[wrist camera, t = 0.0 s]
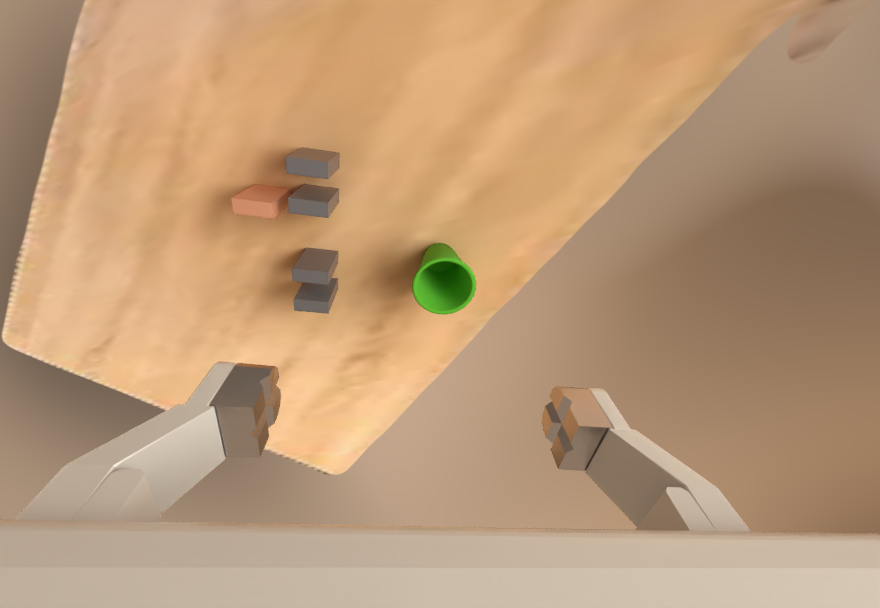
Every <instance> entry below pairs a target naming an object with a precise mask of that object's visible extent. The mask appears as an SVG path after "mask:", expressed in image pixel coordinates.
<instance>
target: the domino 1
mask: <svg viewBox="0 0 880 608" xmlns="http://www.w3.org/2000/svg"><path fill="white" fill-rule="evenodd" d="M289 196H291V190H290V189H287V188H279V187H272V186H264V185H257V184H254V185H253V186H251V187H249V188H247V189H246V190H244V191H242V192H241V193H239V194H237V195H235V196H234V197H232V198H231V201H232V209H233V214H241V215H249V216H257V217H266V218H275V217H276V216H277V215H278V214H279V213H280V212H281V211H282V210H283V209H285V208H286V207H287V206H288V197H289Z"/></svg>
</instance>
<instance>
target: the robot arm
mask: <svg viewBox="0 0 880 608" xmlns="http://www.w3.org/2000/svg"><path fill="white" fill-rule="evenodd" d="M278 379H279V373H278V368H277V367H276V366H266V365H255V364H244V363H230V362H218V363H216V364H214V365H213V367H212V368H211V369H210V371H209V372H208V374H207V375H206V376H205V378H204V379H203V380H202V382H201V383H200V384H199V386H198V387H197V388H196V390H195V391H194V393H193V394H192V395H191V397H190V398H189V399H188V401H187V402H186V403H185V405H179V404H178V405H176V406H175V407H173V408H171V409H169V410H167V411H165V412H163V413H162V414H160V415H158V416H156V417H154V418H152V419H150V420H148V421H147V422H145V423H143V424H141V425H139V426H137V427H135V428H133V429H132V430H130V431H128V432H126V433H124V434H122V435H120V436H119V437H117V438H115V439H113V440H111V441H109V442H107V443H106V444H104V445H102V446H100V447H98V448H96V449H94V450H92V451H91V452H89V453H87V454H85V455H83V456H81V457H79V458H77V459H76V460H74V461H72V462H70V463H68V464H66V465H65V466H64V467H63V468H62V469H61V470H60V471H59V472H58V474H57V475H56V476H55V477H54V478H53V479H52V480H51V481H50V482H49V483H48V484H47V485H46V486H45V487H44V488H43V490H42V491H41V492H40V493H39V494H38V495H37V496H36V497H35V498H34V499H33V500H32V501H31V502H30V503H29V504H28V506H27V507H26V508H25V509H24V510H23V511H22V512H21V513H20V514H19V515H18V516H17V517H16V518H15V519H14V520H2V519H0V608H880V534H867V533H863V534H862V533H795V532H794V533H792V532H751V531H750V530H749V528H748V527H747V526H746V524H745V523H744V522H743V520H742V519H741V518H740V517H739V515H738V514H737V513H736V511H735V510H734V509H733V508H732V506H731V505H730V504H729V502H728V501H727V500H726V498H725V497H724V496H723V494H722V493H721V492H720V491H719V489H718V488H717V487H716V486H714V485H713V484H711V483H710V482H708V481H707V480H706V479H704V478H703V477H701V476H700V475H699V474H697V473H696V472H694V471H693V470H691V469H690V468H689V467H687V466H686V465H684V464H683V463H682V462H680V461H679V460H677V459H676V458H674V457H673V456H672V455H670V454H669V453H667V452H666V451H665V450H663V449H662V448H660V447H659V446H657V445H656V444H655V443H653V442H652V441H650V440H649V439H648V438H646V437H645V436H643V435H642V434H641V433H639V432H638V431H636V430H631V429H630V428H629V426H628V425H627V423H626V422H625V420H624V419H623V417H622V415H621V414H620V413H619V411H618V409H617V408H616V406H615V405H614V403H613V402H612V400H611V399H610V397H609V396H608V394H607V392H606V391H604V390H603V389H596V388H575V387H560V386H555V387H554V388H553V389H552V391H551V393H550V398H551V400H552V402H550V403H549V404H548V405H546V406H545V408H544V411H543V414H542V426H543V431H544V434H545V436H546V438H548V439H549V440H550V441H551V442H552V443H553V445H552V448H551V451H552V454H553V457H554V460H555V462H556V465H557V467H558V469H565V470H580V471H586V474H587V475H588V476H589V477H590V478H591V479H592V480H593V481H594V482H595V483H596V484H597V485H598V486H599V487H600V488H601V489H602V490H603V492H604V493H605V494H607V496H608V497H609V498H610V499H611V500H612V501H613V502H614V503H615V504H616V505H617V506H618V507H619V509H620V510H622V512H623V513H624V514H625V515H626V516H627V517H628V518H629V519H630V520H631V521H632V522H633V523H634V524H635V525H636V526H637V528H636V530H614V529H612V530H611V529H551V528H550V529H549V528H482V527H423V526H367V525H308V524H246V523H186V522H185V523H184V522H163V520H162V518H161V515H160V514H162V513H163V512H164V511H165V510H166V509H167V508H169V507H170V506H171V505H172V504H173V503H174V502H176V501H177V500H178V499H179V498H180V497H181V496H183V495H184V494H185V493H186V492H187V491H188V490H190V489H191V488H192V487H193V486H194V485H195V484H197V483H198V482H199V481H200V480H201V479H202V478H203V477H205V476H206V475H207V474H208V473H209V472H211V471H212V470H213V469H214V468H215V467H216V466H218V465H219V464H220V463H221V462H222V461H223V460H225V457H260V456H261V454H262V451H263V449H264V447H265V444H266V442H267V440H268V437H269V433H268V427H270V426H271V425H273V424H274V423H275V421H276V418H277V415H278V412H279V407H280V400H281V393H280V389H279V388H278V387H277V386H276V383H277V381H278Z"/></svg>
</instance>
